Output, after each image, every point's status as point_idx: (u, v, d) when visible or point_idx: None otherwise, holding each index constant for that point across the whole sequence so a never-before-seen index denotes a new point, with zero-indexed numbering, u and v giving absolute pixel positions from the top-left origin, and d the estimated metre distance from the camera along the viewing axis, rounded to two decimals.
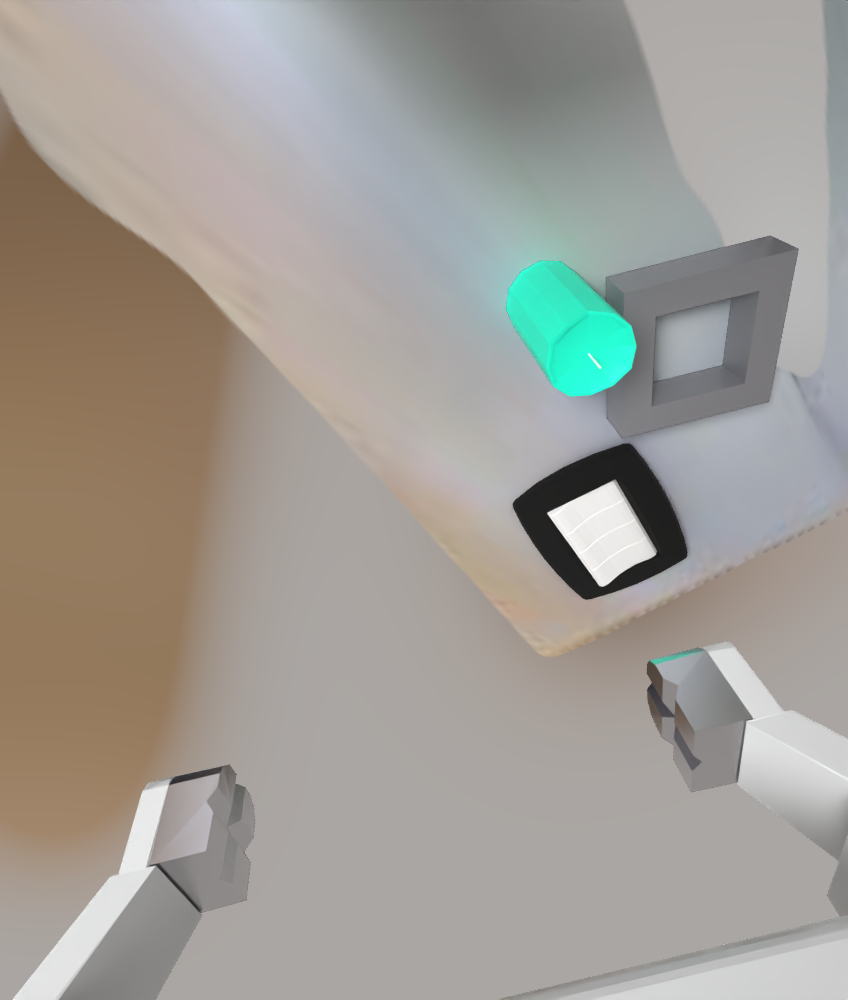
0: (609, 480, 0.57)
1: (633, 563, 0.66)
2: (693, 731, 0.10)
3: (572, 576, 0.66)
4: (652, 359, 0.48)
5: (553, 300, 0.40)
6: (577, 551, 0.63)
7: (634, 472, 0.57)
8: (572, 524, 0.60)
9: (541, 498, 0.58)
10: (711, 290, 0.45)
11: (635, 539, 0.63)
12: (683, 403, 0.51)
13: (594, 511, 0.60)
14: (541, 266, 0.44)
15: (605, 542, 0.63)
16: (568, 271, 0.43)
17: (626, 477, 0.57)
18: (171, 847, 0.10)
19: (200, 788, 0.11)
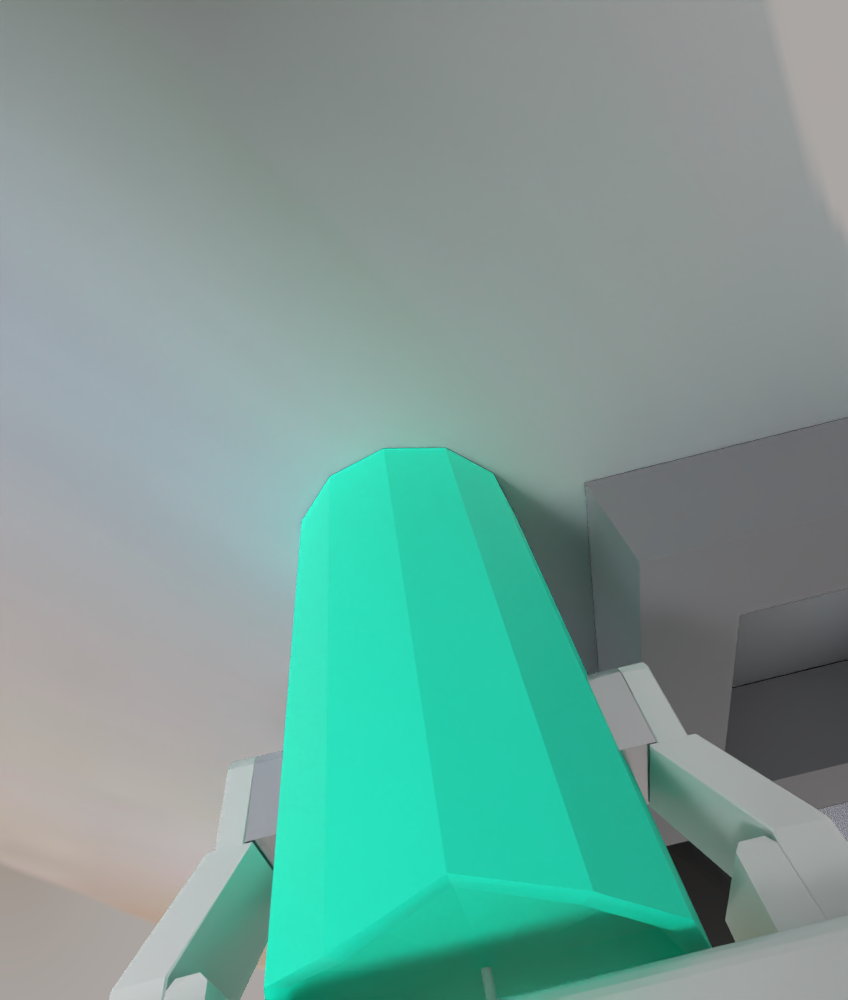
0: None
1: None
2: None
3: None
4: (726, 706, 0.17)
5: (347, 672, 0.10)
6: None
7: None
8: None
9: None
10: None
11: None
12: (802, 780, 0.19)
13: None
14: (378, 470, 0.14)
15: None
16: (453, 498, 0.13)
17: None
18: (265, 824, 0.10)
19: None
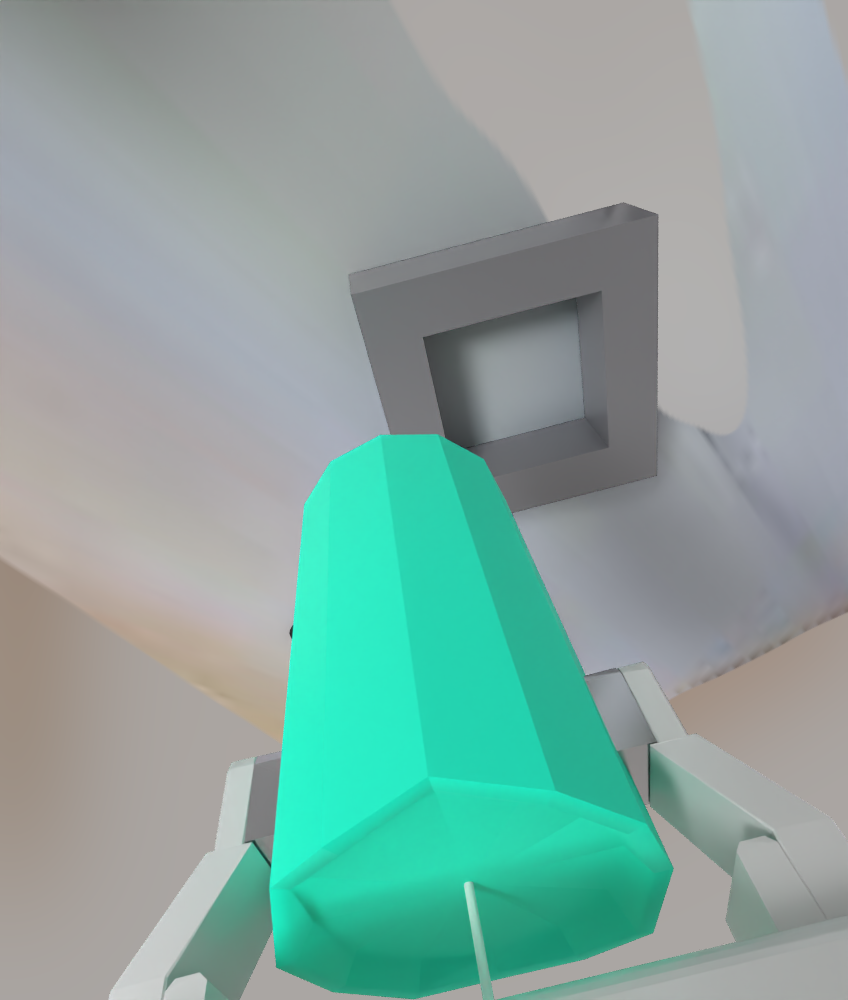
0: None
1: None
2: None
3: None
4: (436, 410, 0.28)
5: (344, 625, 0.11)
6: None
7: None
8: None
9: None
10: (513, 291, 0.26)
11: None
12: (509, 480, 0.31)
13: None
14: (375, 454, 0.15)
15: None
16: (444, 477, 0.14)
17: None
18: (265, 824, 0.10)
19: None
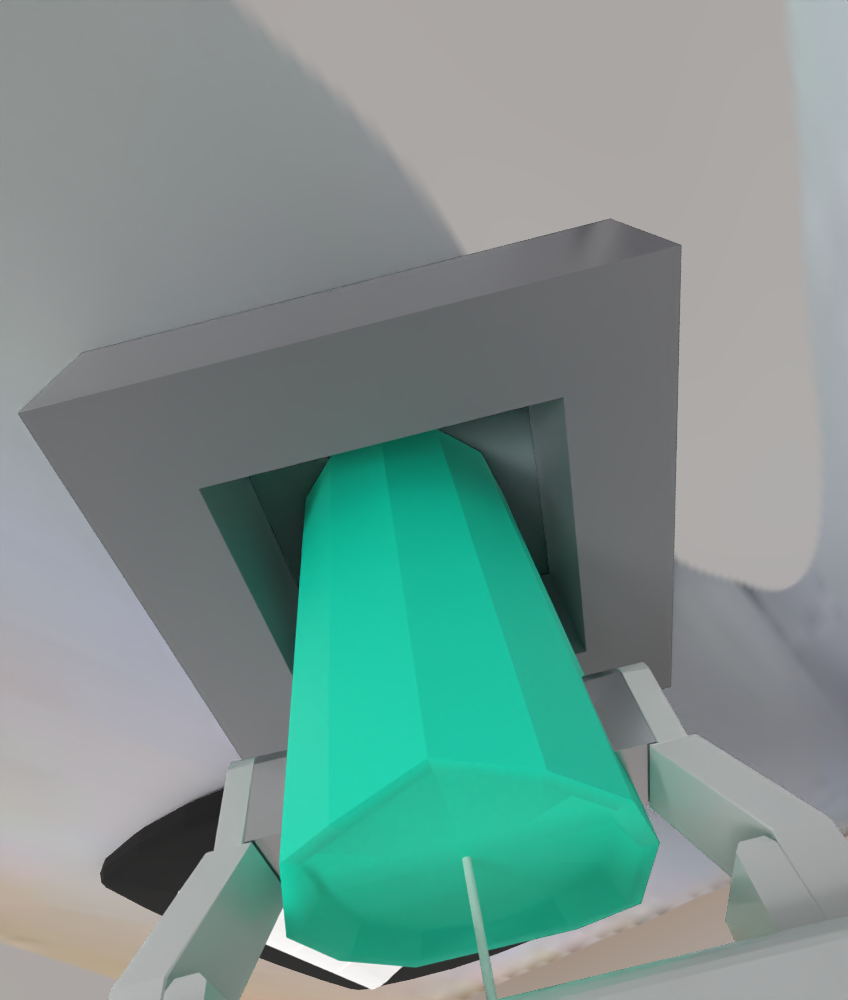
0: None
1: None
2: None
3: (306, 968, 0.31)
4: (254, 608, 0.15)
5: (347, 615, 0.11)
6: (281, 950, 0.28)
7: None
8: None
9: (149, 868, 0.25)
10: (376, 400, 0.12)
11: None
12: None
13: None
14: (374, 449, 0.16)
15: None
16: (442, 471, 0.15)
17: None
18: (264, 824, 0.10)
19: None
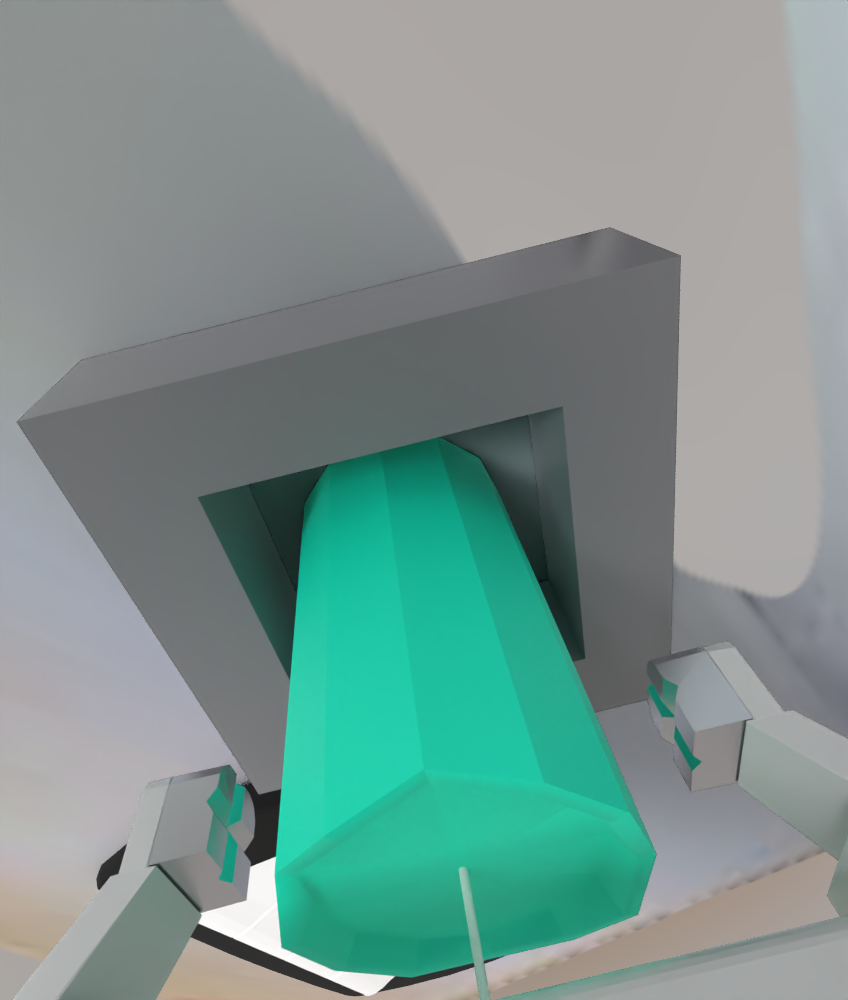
0: None
1: None
2: (693, 731, 0.10)
3: (302, 974, 0.31)
4: (252, 615, 0.15)
5: (344, 623, 0.11)
6: (277, 956, 0.28)
7: None
8: (239, 919, 0.26)
9: None
10: (375, 409, 0.12)
11: None
12: None
13: None
14: (374, 455, 0.16)
15: None
16: (440, 478, 0.15)
17: None
18: (171, 847, 0.10)
19: (200, 788, 0.11)
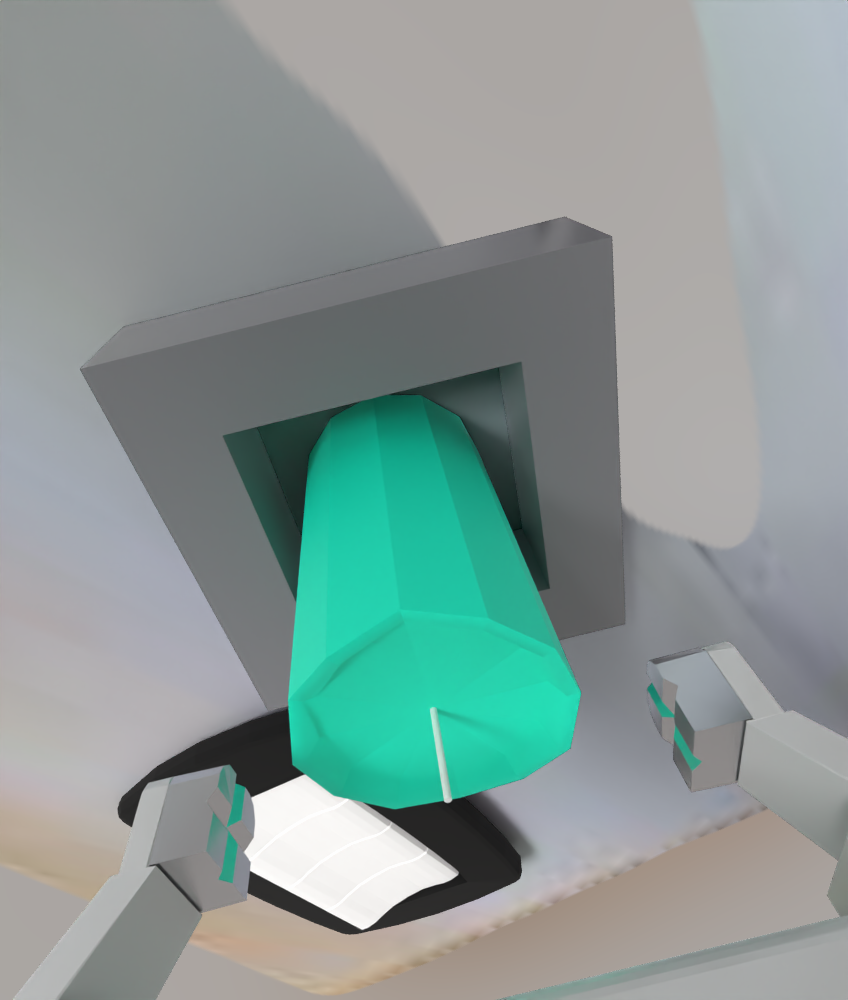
0: (294, 775, 0.26)
1: (417, 888, 0.34)
2: (693, 731, 0.10)
3: (302, 909, 0.34)
4: (265, 542, 0.18)
5: (342, 529, 0.14)
6: (279, 886, 0.31)
7: None
8: None
9: None
10: (368, 362, 0.15)
11: (403, 857, 0.32)
12: None
13: (293, 819, 0.29)
14: (368, 410, 0.19)
15: (341, 863, 0.31)
16: (423, 427, 0.17)
17: None
18: (171, 847, 0.10)
19: (200, 788, 0.11)
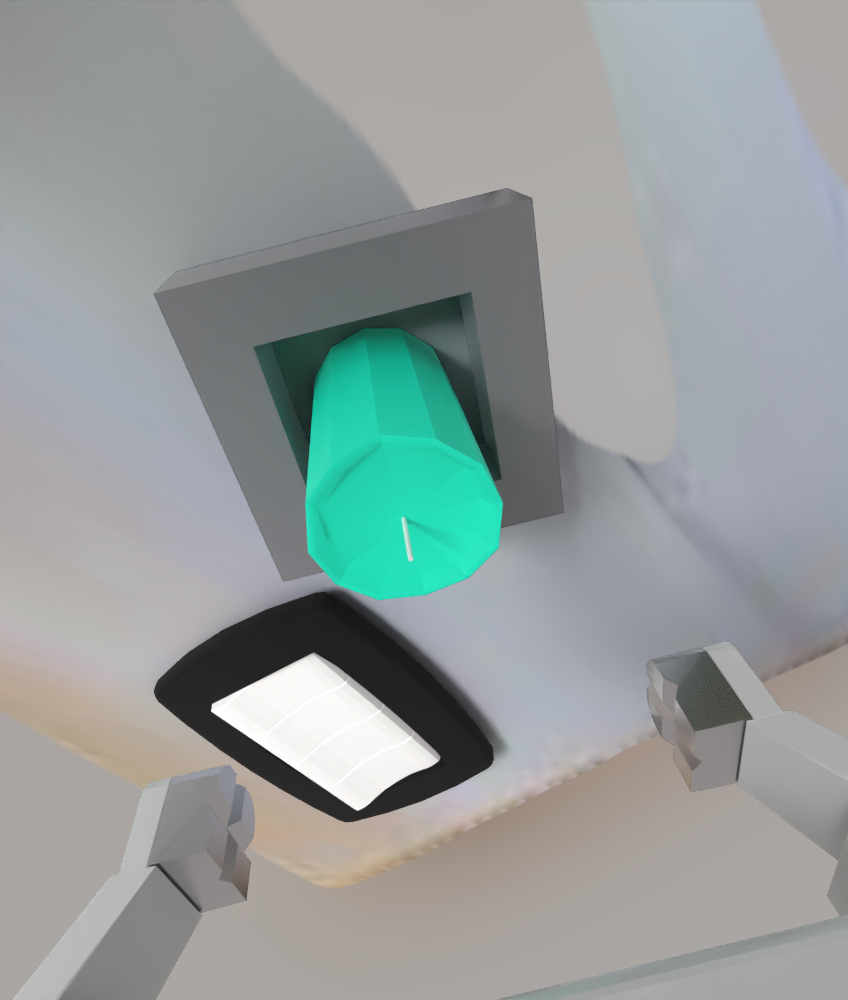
0: (301, 655, 0.32)
1: (405, 774, 0.40)
2: (693, 731, 0.10)
3: (306, 793, 0.40)
4: (283, 434, 0.23)
5: (341, 405, 0.20)
6: (288, 763, 0.37)
7: (342, 642, 0.32)
8: (260, 723, 0.35)
9: (192, 682, 0.33)
10: (359, 291, 0.21)
11: (392, 740, 0.37)
12: None
13: (299, 701, 0.35)
14: (360, 337, 0.24)
15: (339, 745, 0.37)
16: (402, 346, 0.23)
17: (330, 650, 0.32)
18: (171, 847, 0.10)
19: (200, 788, 0.11)
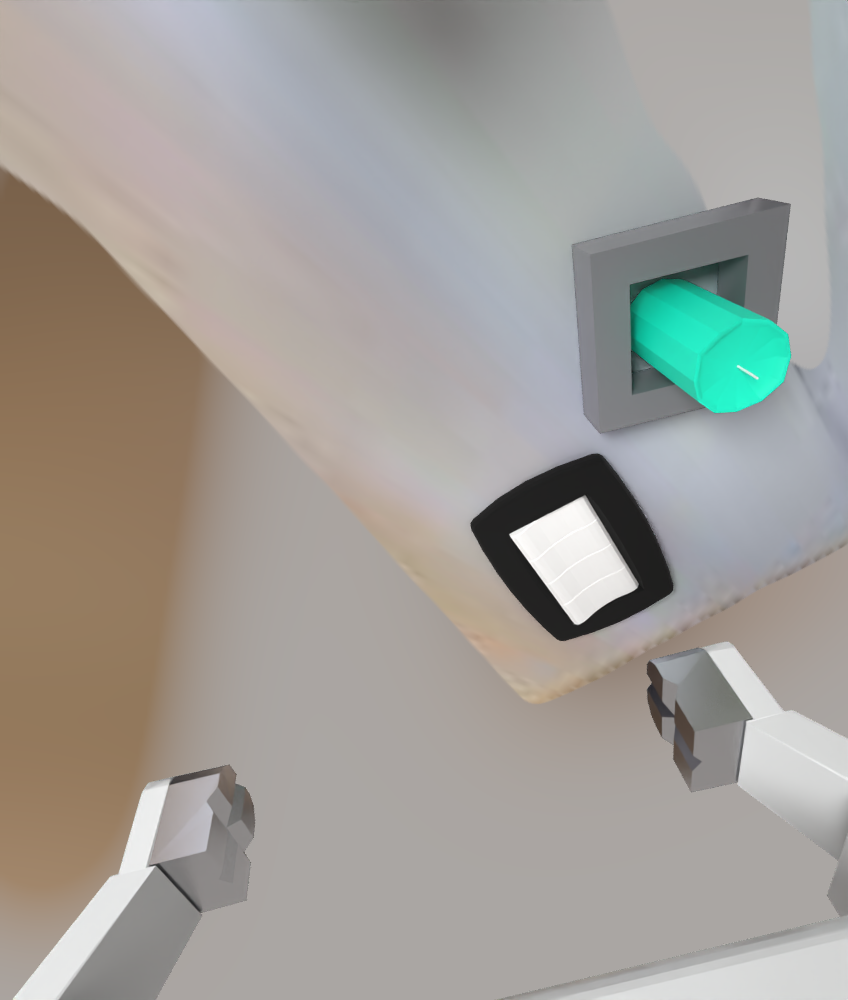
0: (578, 496, 0.50)
1: (612, 598, 0.58)
2: (693, 731, 0.10)
3: (543, 613, 0.58)
4: (629, 336, 0.41)
5: (692, 312, 0.38)
6: (546, 581, 0.55)
7: (606, 487, 0.50)
8: (538, 548, 0.53)
9: (502, 516, 0.51)
10: (692, 253, 0.39)
11: (612, 568, 0.56)
12: (668, 391, 0.44)
13: (563, 533, 0.53)
14: (665, 283, 0.42)
15: (578, 571, 0.55)
16: (697, 287, 0.41)
17: (597, 492, 0.50)
18: (171, 847, 0.10)
19: (200, 788, 0.11)
